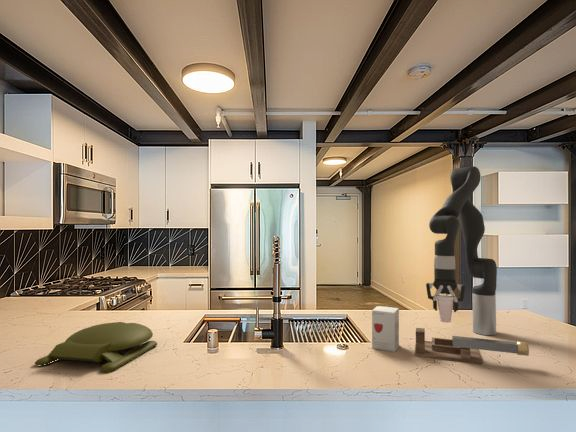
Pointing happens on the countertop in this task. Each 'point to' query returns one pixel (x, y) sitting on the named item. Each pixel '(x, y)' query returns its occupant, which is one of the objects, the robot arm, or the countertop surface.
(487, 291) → the robot arm
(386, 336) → the supplement box
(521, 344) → the bar
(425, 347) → the holder
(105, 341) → the spaceship
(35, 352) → the countertop surface
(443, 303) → the smoothie
